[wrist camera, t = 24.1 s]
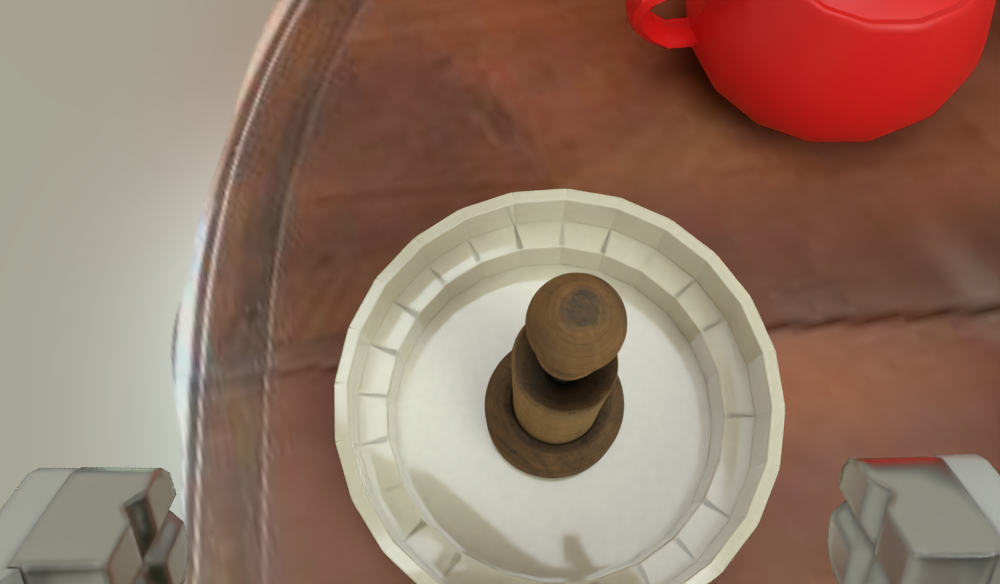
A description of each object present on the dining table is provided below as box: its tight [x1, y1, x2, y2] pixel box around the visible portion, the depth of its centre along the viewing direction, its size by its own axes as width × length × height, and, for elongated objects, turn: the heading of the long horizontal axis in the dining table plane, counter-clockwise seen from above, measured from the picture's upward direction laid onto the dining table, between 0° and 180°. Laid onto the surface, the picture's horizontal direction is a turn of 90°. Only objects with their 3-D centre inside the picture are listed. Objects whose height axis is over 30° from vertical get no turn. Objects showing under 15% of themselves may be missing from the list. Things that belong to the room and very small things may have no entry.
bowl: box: [334, 188, 785, 584], centre depth 38 cm, size 19×19×6 cm
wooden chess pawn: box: [485, 272, 627, 478], centre depth 32 cm, size 7×6×18 cm
